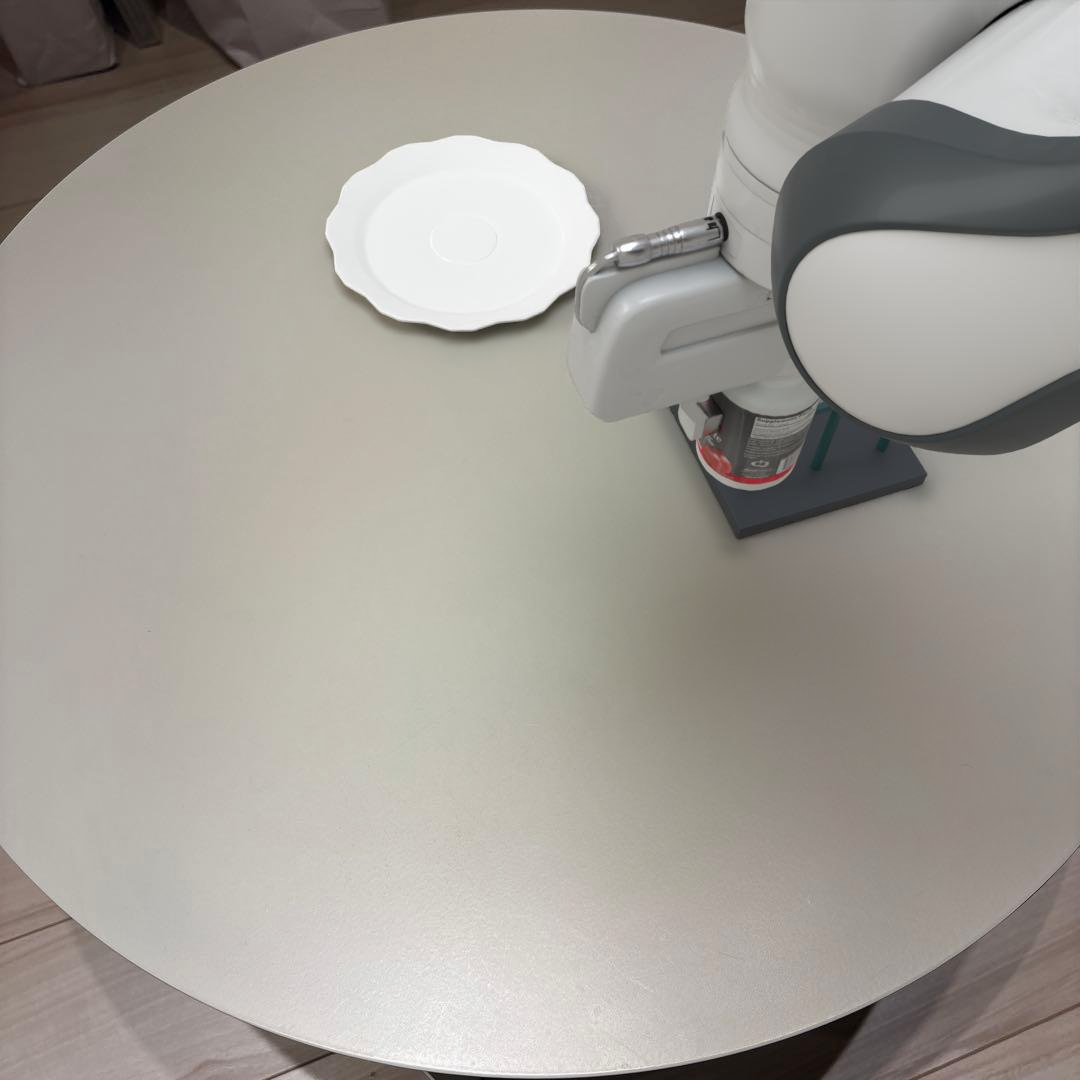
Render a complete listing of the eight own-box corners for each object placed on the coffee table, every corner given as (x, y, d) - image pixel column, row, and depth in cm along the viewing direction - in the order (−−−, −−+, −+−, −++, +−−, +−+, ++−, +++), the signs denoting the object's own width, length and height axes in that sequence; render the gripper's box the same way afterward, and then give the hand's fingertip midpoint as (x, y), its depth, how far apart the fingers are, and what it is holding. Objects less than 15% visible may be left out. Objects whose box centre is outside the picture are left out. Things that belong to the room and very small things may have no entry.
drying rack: (923, 484, 78) (964, 406, 71) (737, 539, 76) (760, 465, 68) (795, 281, 88) (820, 195, 81) (626, 324, 85) (636, 239, 78)
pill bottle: (679, 424, 61) (705, 294, 53) (771, 401, 62) (812, 271, 54) (717, 505, 58) (751, 382, 50) (813, 480, 59) (862, 356, 51)
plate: (651, 240, 90) (653, 224, 89) (462, 388, 82) (461, 373, 81) (465, 118, 97) (464, 101, 96) (275, 242, 89) (271, 226, 88)
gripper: (609, 312, 42) (588, 517, 53) (1084, 188, 46) (966, 404, 57) (550, 198, 45) (542, 415, 57) (999, 91, 49) (904, 315, 61)
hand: (759, 409), depth 57 cm, fingers closed on pill bottle, 5 cm apart
